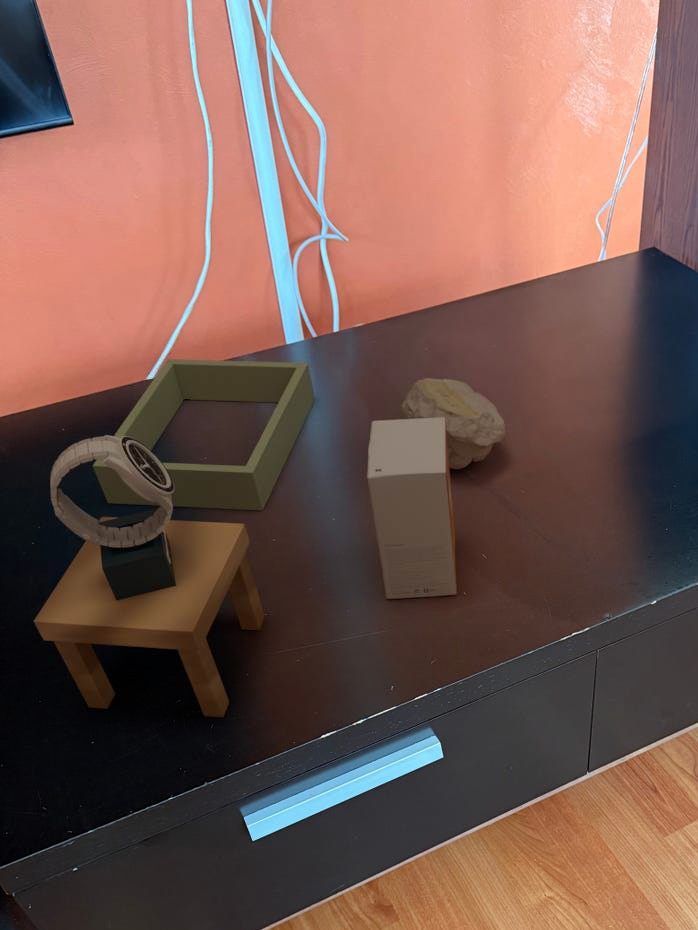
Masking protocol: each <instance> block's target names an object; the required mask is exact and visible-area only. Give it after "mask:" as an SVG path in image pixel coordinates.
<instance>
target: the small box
mask: <svg viewBox="0 0 698 930" xmlns="http://www.w3.org/2000/svg"><path fill="white" fill-rule="evenodd" d="M369 434H370V435H369V441H368V442H369V443H368V448H367V449H368V451H367V453H368V454H367V473H366V481H367V485H368V493H369V500H370V505H371V511H372V517H373V518H372V519H373V523H374V524H373V525H374V531H375V536H376V541H377V548H378V554H379V560H380V567H381V573H382V575H381V576H382V580H383V581H382V582H383V589H384V595H385V598H386V599H388V600H394V599H410V598H411V599H412V598H426V597H427V598H428V597H442V596H456V595H457V594H458V587H457V571H456V532H455V522H454V521H455V519H454V507H453V499H452V498H453V497H452V484H451V483H452V482H451V473H450V472H451V471H450V468H449V457H448V445H447V428H446V418H445V417H439V418H420V419H402V418H400V419H384V420H382V419H380V420H372V422H371V426H370V433H369Z"/></svg>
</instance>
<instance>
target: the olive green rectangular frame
mask: <svg viewBox="0 0 698 930" xmlns="http://www.w3.org/2000/svg"><path fill="white" fill-rule="evenodd" d="M309 366H310V365H309V363H308V362H291V361H290V362H289V361H255V360H254V361H251V360H250V361H249V360H211V359H209V360H208V359H175V358H173V359H172V358H168V359H167V360H166V361H165V363H164V364H163V366H162V367H161V368H160V370H159V372H157V374H156V375H155V377H154V378H153V380H152V381H151V383H150V384H149V386H148V387H147V388H146V389H145V391H144V392H143V394H142V395H141V397H140V398H139V400H138V401H137V403H136V404H135V405H134V406H133V408H132V409H131V411H130V412H129V414H128V416H127V417H126V418H125V420H124V421H123V422H122V423H121V425H120V427H119V428H118V429H117V431H116V432H115V434H114V435H113V437H117V438H121V437H122V436H129V437H131V438H134V439H136V440H137V441H139V442H140V443H142V444H143V445H144V446H146V447H147V448H148V449H149V450H150V451H151V452H152V450H153V448H154V447H155V446H156V444H157V442H158V441H159V439H160V438H161V436H162V435H163V433H164V431H165V430H166V428H167V427H168V425H169V424H170V423H171V421H172V419H173V417H174V416H175V415H176V414H177V411H178V410H179V408H180V406H181V405H182V404H183V402H184V401H183V400H185V399H188V400H189V399H190V400H189V401H215V402H217V401H218V402H245V403H246V402H251V403H254V402H255V403H277V404H276V407H275V408H274V411H273V412H272V415H271V417H270V418H269V420H268V422H267V423H266V426H265V428H264V430H263V432H262V433H261V435H260V438H259V440H258V441H257V443H256V445H255V447H254V449H253V451H252V452H251V455H250V457H249V458H248V461H247V463H246V464H245V465H229V464H228V465H226V464H207V463H205V464H203V463H182V462H181V463H180V462H162V464H163V465H164V466H165V468H166V469H167V471H168V472H169V474H170V476H171V478H172V480H173V483H174V492H173V493H172V494H171V498H172V504H173V507H177V508H178V507H179V508H180V507H181V508H199V509H200V508H201V509H202V508H203V509H224V510H243V511H264V509H265V507H266V504H267V503H268V500H269V498H270V496H271V494H272V492H273V489H274V488H275V486H276V483H277V482H278V479H279V477H280V475H281V473H282V470H283V469H284V467H285V465H286V462H287V460H288V458H289V455H290V453H291V452H292V449H293V447H294V445H295V443H296V441H297V439H298V436H299V435H300V432H301V430H302V428H303V426H304V424H305V421H306V419H307V417H308V416H309V413H310V411H311V409H312V406H313V405H314V402H315V400H316V397H315V392H314V387H313V382H312V376H311V372H310V371H311V370H310V367H309ZM185 401H186V400H185ZM103 460H104V459H99V460H95V462H94V463H93V464H92V468H93V470H94V473H95V475H96V478H97V480H98V483H99V485H100V487H101V489H102V492H103V494H104V497H105V500H106V502H107V504H115V505H116V504H119V505H135V506H136V505H138V506H159V507H161V506H160V504H159V503H158V502H151V501H148V500H146V499H144V498H143V497H141V496H140V495H138V494H137V493H135V492H134V491H133V490H132V489H131V488H129V487H128V486H127V485H126V484H125V483H124V481H123V480H122V479H121V478H120V476H119V475H118V474H117V472H116V471H115V470H113V469H112V468H110V467H108V466H106V465H105V464H104V462H103Z"/></svg>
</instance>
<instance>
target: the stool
mask: <svg viewBox="0 0 698 930" xmlns="http://www.w3.org/2000/svg"><path fill="white" fill-rule="evenodd" d="M116 518H117V517H113V516H101V517H100V519H99V520H98V521H99V522H103V521H107V520H111V519H116ZM165 532H166V535H167V537H168V540H169V545H170V551H171V557H172V563H173V569H174V575H175V582H176V586H173V587H169V588H165V589H161V590H157V591H153V592H149V593H145V594H141V595H137V596H133V597H129V598H125V599H121V600H117V601H116V599H115V596H114V594H113V592H112V590H111V587H110V585H109V583H108V581H107V578H106V576H105V574H104V572H103V569H102V561H101V549H100V544H98V546H95V545H93V544H91V543H90V542H88V541H86V540H85V541H84V543H83V545H82V546H81V548H80V549H79V551H78V553H77V554H76V556H74V558H73V560H72V561H71V563H70V565H69V566H68V567H67V569H66V571H65V572H64V574H63V575H62V577H61V579H60V580H59V582H58V583H57V584H56V586H55V587H54V589H53V591H52V592H51V594H50V595H49V597H48V598H47V599H46V602H45V603H44V605H42V607H41V609H40V610H39V612H38V614H37V615H36V617H35V618H34V620H33V623H34V625H35V627H36V629H37V631H38V632H39V634H40V636H41V638H42V640H43V641H45V642H46V641H47V642H53V643H54V645H55V647H56V649H57V651H58V653H59V654H60V656H61V658H62V660H63V662H64V664H65V666H66V667H67V669H68V671H69V673H70V675H71V677H72V679H73V680H74V682H75V684H76V687H77V688H78V690H79V692H80V693H81V696H82V697H83V699H84V701H85V703H86V705H87V707H88V708H91V709H105V710H107V709H108V708H109V707H110V705H111V702H112V701H113V699H114V697H115V695H116V692H115V690H114V688H113V686H112V684H111V682H110V680H109V678H108V676H107V674H106V672H105V670H104V668H103V666H102V664H101V662H100V660H99V658H98V656H97V654H96V651H95V650H94V648H93V646H92V645H106V646H121V647H136V648H149V649H166V650H177V653H178V655H179V656H180V659H181V662H182V665H183V667H184V670H185V672H186V675H187V677H188V679H189V682H190V683H191V684H190V685H191V688H192V690H193V692H194V694H195V697H196V699H197V702H198V704H199V707H200V710H201V711H202V714H203V716H204V717H210V718H211V717H212V718H213V717H214V718H224V717H225V715H226V712H227V709H228V707H229V705H230V701H229V697H228V695H227V692H226V689H225V686H224V684H223V681H222V678H221V675H220V673H219V670H218V668H217V667H218V666H217V665H216V661H215V660H214V657H213V654H212V651H211V649H210V646H209V643H208V640H207V636H208V634H209V631H210V630H211V627H212V626H213V623H214V622H215V619H216V617H217V614H218V613H219V611H220V608H221V606H222V604H223V602H224V599H225V597H226V595H227V593H228V591H229V594H230V598H231V601H232V603H233V606H234V609H235V613H236V615H237V619H238V622H239V624H240V628H241V630H247V631H248V630H249V631H260V630H261V629H262V626H263V623H264V621H265V618H266V616H265V612H264V609H263V606H262V603H261V599H260V596H259V592H258V588H257V586H256V583H255V579H254V576H253V572H252V569H251V566H250V562H249V559H248V555H247V550H248V548H249V546H250V543H251V541H250V538H249V535H248V531H247V527H246V525H245V523H236V522H234V523H233V522H217V521H198V520H197V521H195V520H173V519H170V521H169V523H168V524H167V525H166V528H165Z"/></svg>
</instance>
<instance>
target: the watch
mask: <svg viewBox="0 0 698 930" xmlns="http://www.w3.org/2000/svg"><path fill="white" fill-rule="evenodd" d="M99 459H104V460H103V462H104V464H105V465H106V466H108V467H110V468H112V469H113V470H115V471H116V472H117V474H118V475H119V476H120V478H121V479H122V480H123V481H124V483H125V484H126V485H127V486H128V487H129V488H131V489H132V490H133V491H134V492H135V493H137V494H138V495H140V496H141V497H143V498H144V499H146V500H148V501H151V502H158V503H159V504H160V506H159V507H158V508H154V509H149V510H146V511H143V512H137V513H133V514H130V515H124V516H120V517H116V519H111V520H107V521H103V522H99V520H98V518H95V517H93V516H92V515H91V514H89V513H87V512H85V510H83V509H81V508H80V507H79V506H78V505H76V503H75V502H73V500H71V499H70V498H69V496H67V495H66V494H64V492H63V490H62V489H61V488H60V487H58V486H59V484H60V483H61V481H62V478H64V477H65V476H66V474H68V473H69V472H70V470H73V469H74V468H77V467H78V466H79V465H81V464H84V463H88V462H93V461H94V460H95V461H96V460H99ZM162 463H163V462H162V461H161V460H160V458H159V457H158V456H157V455H155V453H153V451H152V450H151V451H150V450H149V449H148V448H147V447H146V446H144V445H143V444H142V443H140V442H139V441H137V440H136V439H134V438H131V437H129V436H122V437H121V438H117V437H114V435H108V434H105V435H103V436H95V437H91V438H85V439H82V440H80V441H78V442H75V443H72V445H70V446H68V447H67V448H66V449H64V450H63V451H62V452H61V453H60V454H59V455H58V457H57V459H56V460H55V461H54V463H53V466H52V468H51V471H50V479H49V480H50V502H51V505H52V506H53V511H54V515H55V516H56V517H57V519H58V520H59V521H60V522H62V523H63V525H65V527H66V528H68V529H69V530H70V531H71V532H73V533H74V534H75V535H77V536H78V537H80V538H81V539H83V540H84V541H85V542H86V541H88V542H90V543H91V544H93V545H95V546H98V544H100V549H101V561H102V569H103V572H104V574H105V576H106V578H107V581H108V583H109V585H110V587H111V590H112V592H113V594H114V596H115V599H116V601H117V600H121V599H125V598H129V597H133V596H137V595H141V594H145V593H149V592H153V591H157V590H161V589H165V588H169V587H173V586H176V582H175V575H174V569H173V563H172V557H171V551H170V545H169V540H168V537H167V535H166V532H165V528H166V525H167V524H168V523H169V521H170V520H171V518H172V514H173V511H174V510H173V509H174V506H173V504H172V498H171V494H172V493H173V492H174V483H173V480H172V478H171V476H170V474H169V472H168V471H167V469H166V468H165V466H164V465H163V464H162Z"/></svg>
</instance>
